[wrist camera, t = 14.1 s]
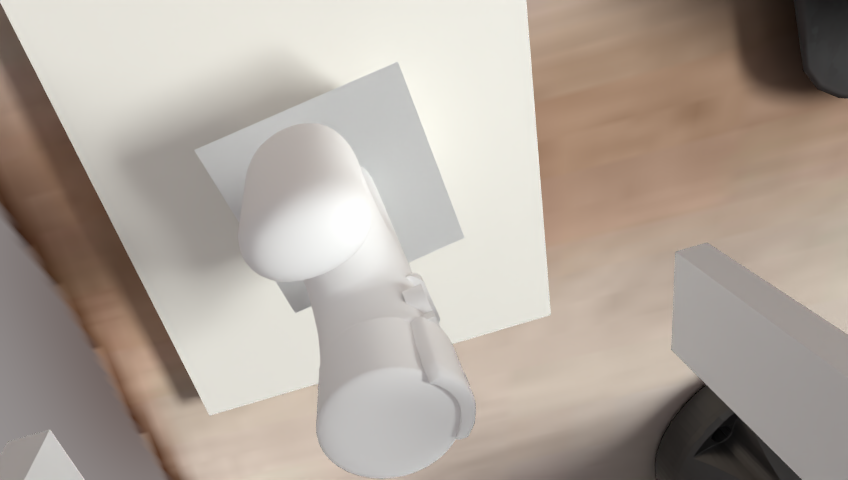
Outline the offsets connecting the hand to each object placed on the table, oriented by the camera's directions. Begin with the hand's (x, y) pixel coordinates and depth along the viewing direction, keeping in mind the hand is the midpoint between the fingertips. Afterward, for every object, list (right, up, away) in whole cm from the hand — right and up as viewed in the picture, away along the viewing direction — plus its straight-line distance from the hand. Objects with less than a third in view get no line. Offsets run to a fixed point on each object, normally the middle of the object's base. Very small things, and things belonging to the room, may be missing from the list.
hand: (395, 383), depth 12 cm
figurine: (-3, +6, +12) cm, 14 cm away
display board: (-4, +7, +13) cm, 15 cm away
